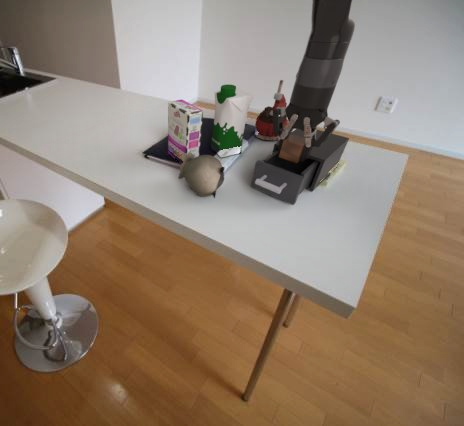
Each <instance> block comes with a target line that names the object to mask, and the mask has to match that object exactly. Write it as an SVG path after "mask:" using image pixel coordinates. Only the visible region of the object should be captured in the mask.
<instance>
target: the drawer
mask: <svg viewBox="0 0 464 426" xmlns="http://www.w3.org/2000/svg"><path fill="white" fill-rule="evenodd" d="M319 165H320V162H319V161H316V160H313V159H310V158H307V159H306V160H303V161H299V162H298V163H294V162H291V161H288V160H285V159H282V158H279V151H278V150H277V151H275V152H274V153H273V154H272V153H271V154H269V155H268V156H266V158H264V159H263V161H262V160H259V159H258V160H256V162H255V165H254V170H253V174H252V179H251V183H250V187H251V188H252V189H256V190H258V191H260V192H262V193H264V194H267V195H269V196H271V197H274V198H276V199H278V200H281V201H283V202H285V203H288V204H290V205H292V206H295V204H296V203H297V200H298V197H299V196H300V195H301V194H302V193H304V191H305V190H307V189H306V188H307V187H308V186H309V185H310V184H311V183H312V182H313V180H314V177H315V175H316V172H317V170H318V167H319Z"/></svg>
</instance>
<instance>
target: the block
mask: <svg viewBox="0 0 464 426" xmlns="http://www.w3.org/2000/svg"><path fill="white" fill-rule="evenodd" d="M304 146H305V138H303V137H300V136H296V135H293V134H292V135H291V136H289V137H288V138H286V139H285V140H284V141H283V144H282V147H281V151H280V154H279V158H282V159H285V160H288V161H291V162H294V163H298V162H299V161H300V157H301V154H302V151H303V148H304Z"/></svg>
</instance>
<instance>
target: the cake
mask: <svg viewBox="0 0 464 426" xmlns="http://www.w3.org/2000/svg"><path fill="white" fill-rule="evenodd" d="M283 83H284V80H283V79H280V80H279V83H278V87H277V90H276V91H277V92H274V94H273V100H274V103H273V106H268V105H267V106H266V107H264V109H263V110H262V111H261V112H260V113H259V115H257V117H256V120H255V125H254V126H255V129H256V128H257V131H258V132H259V133H258V135H256V136H255V137H256V138H258V139H260V140H262V141H263V140H265V141H276V140H277V141H280V137H279V136H278V135H275V134H274V133H273V110H274V109H276V108H277V107H279V106H282V107H287V106H288V105H287V104H288V103H287V100H286V97H285V94H284V93H281V92H282V88H283ZM288 122H289V121H288V118H287V115H286V113H285V115H284V116H283V129H284V128H285V127H286V125H287V124H288Z"/></svg>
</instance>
